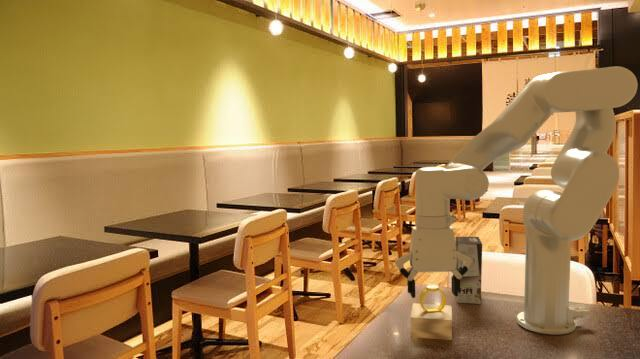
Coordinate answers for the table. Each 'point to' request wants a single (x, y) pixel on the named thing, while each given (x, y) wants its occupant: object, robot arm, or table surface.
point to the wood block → (431, 322)
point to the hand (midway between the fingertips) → (433, 295)
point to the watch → (432, 288)
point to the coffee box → (470, 270)
